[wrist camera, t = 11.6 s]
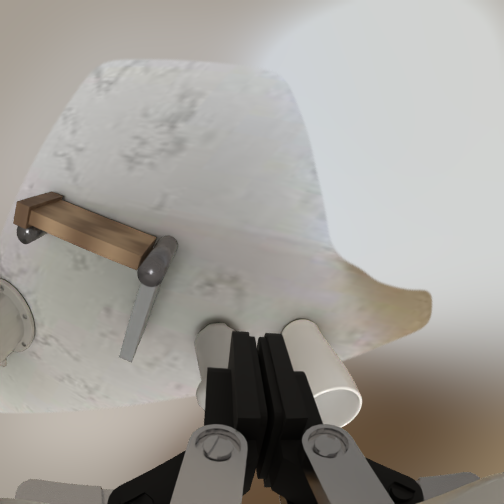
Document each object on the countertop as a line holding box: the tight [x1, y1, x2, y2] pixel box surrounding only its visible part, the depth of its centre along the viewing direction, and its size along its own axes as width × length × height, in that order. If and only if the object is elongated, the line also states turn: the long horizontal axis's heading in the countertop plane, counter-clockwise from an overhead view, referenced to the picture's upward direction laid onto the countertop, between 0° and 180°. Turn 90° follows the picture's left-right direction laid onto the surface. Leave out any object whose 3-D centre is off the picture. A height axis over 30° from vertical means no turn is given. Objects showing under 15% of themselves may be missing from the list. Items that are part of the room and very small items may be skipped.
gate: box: [13, 192, 156, 270], centre depth 30 cm, size 15×2×8 cm, turn 67°
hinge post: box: [138, 236, 178, 287], centre depth 32 cm, size 2×2×10 cm
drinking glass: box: [282, 319, 362, 428], centre depth 34 cm, size 7×7×15 cm
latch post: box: [17, 226, 47, 244], centre depth 31 cm, size 2×2×7 cm
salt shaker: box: [194, 323, 235, 411], centre depth 34 cm, size 6×6×13 cm
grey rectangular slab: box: [119, 283, 161, 362], centre depth 34 cm, size 10×2×8 cm, turn 156°
